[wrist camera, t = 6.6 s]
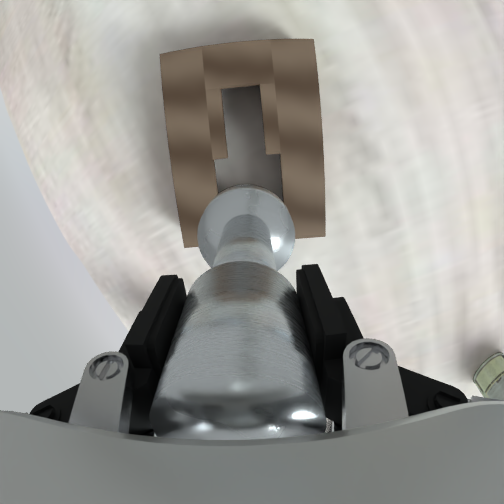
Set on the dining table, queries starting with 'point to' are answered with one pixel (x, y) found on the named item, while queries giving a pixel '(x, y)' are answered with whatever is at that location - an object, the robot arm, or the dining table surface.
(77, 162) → the dining table surface
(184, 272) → the dining table surface
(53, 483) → the robot arm
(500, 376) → the coffee can
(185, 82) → the keyhole board
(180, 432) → the keyhole peg
